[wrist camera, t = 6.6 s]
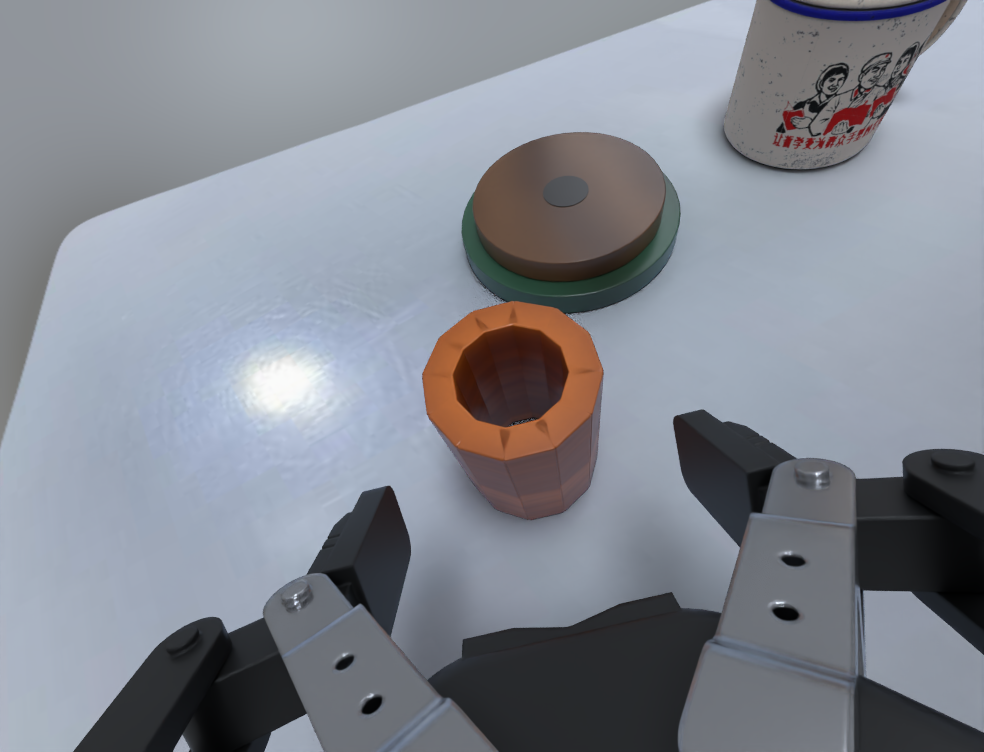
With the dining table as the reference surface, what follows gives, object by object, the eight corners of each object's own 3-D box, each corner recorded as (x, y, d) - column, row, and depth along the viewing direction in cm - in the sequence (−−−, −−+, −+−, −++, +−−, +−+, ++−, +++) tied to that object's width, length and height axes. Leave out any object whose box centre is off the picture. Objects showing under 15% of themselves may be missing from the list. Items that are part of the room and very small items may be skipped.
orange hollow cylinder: (575, 387, 24) (572, 284, 17) (612, 501, 21) (626, 431, 14) (462, 415, 24) (415, 325, 17) (482, 531, 21) (434, 477, 14)
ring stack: (599, 138, 33) (601, 96, 31) (724, 248, 27) (739, 206, 24) (436, 215, 32) (424, 178, 30) (524, 350, 26) (517, 317, 23)
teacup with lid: (763, 192, 28) (862, -54, 18) (694, 113, 33) (743, -117, 23) (956, 134, 28) (1163, -148, 18) (859, 62, 33) (981, -193, 23)
